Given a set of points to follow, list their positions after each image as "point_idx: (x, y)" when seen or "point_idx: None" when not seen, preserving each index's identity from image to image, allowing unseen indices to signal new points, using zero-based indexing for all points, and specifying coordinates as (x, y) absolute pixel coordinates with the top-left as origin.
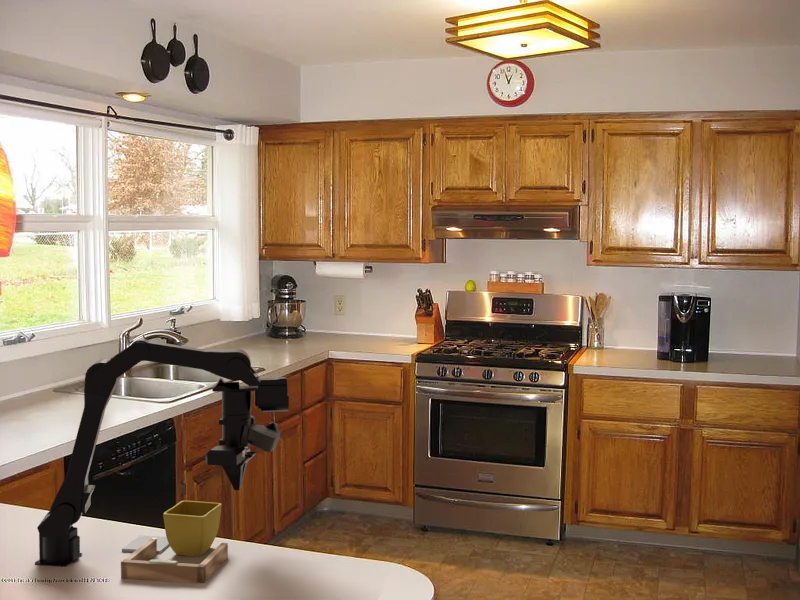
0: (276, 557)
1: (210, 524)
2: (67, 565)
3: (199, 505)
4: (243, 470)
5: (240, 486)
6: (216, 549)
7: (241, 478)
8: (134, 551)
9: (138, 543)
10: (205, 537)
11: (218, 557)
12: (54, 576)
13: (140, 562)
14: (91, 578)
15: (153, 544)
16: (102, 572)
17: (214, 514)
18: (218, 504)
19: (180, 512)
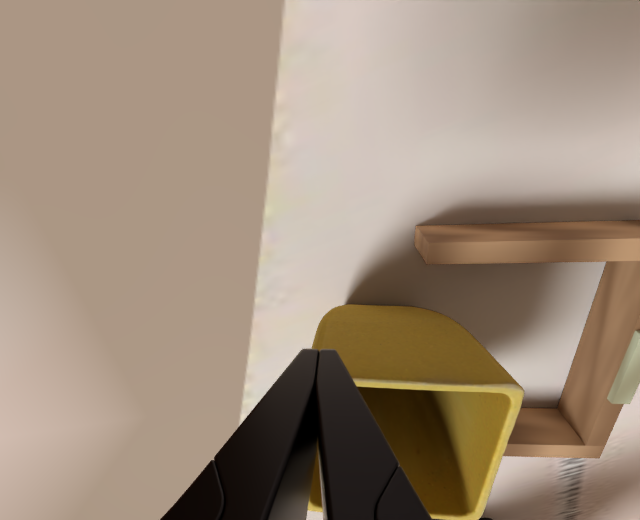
0: (386, 45)
1: (418, 344)
2: (486, 518)
3: None
4: (271, 507)
5: (314, 361)
6: (500, 258)
7: (327, 418)
8: (516, 455)
9: None
10: (445, 325)
11: (523, 234)
12: (548, 517)
13: (612, 419)
14: (565, 465)
15: None
16: (529, 459)
17: (389, 362)
18: None
19: None
